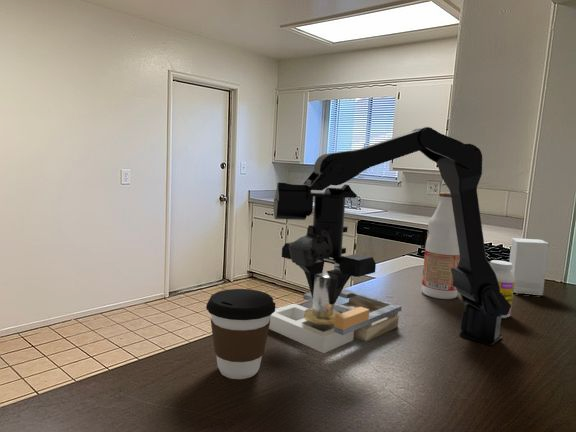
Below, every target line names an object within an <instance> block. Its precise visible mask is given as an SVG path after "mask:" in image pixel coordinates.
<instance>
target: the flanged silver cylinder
mask: <svg viewBox="0 0 576 432" xmlns="http://www.w3.org/2000/svg"><path fill="white" fill-rule="evenodd" d="M329 296H330V277H329V275H328V273H327V272H326V273H325V272H324V273H318V274H315V276H314V292H313V302H312V307H309V308H308V309H306V310H305V312H304V318H305V320H307V321H308V322H310V323H312V324H311V327H312V328H315V329H317V330H320V331H322V332H325V331H328V330H330V329H332V325H334V322H335V316H336V315H338V314H340V313H339V312H338V311H336V310H334V309H333V307H334V304H333V305H331V304H330V299H329Z"/></svg>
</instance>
